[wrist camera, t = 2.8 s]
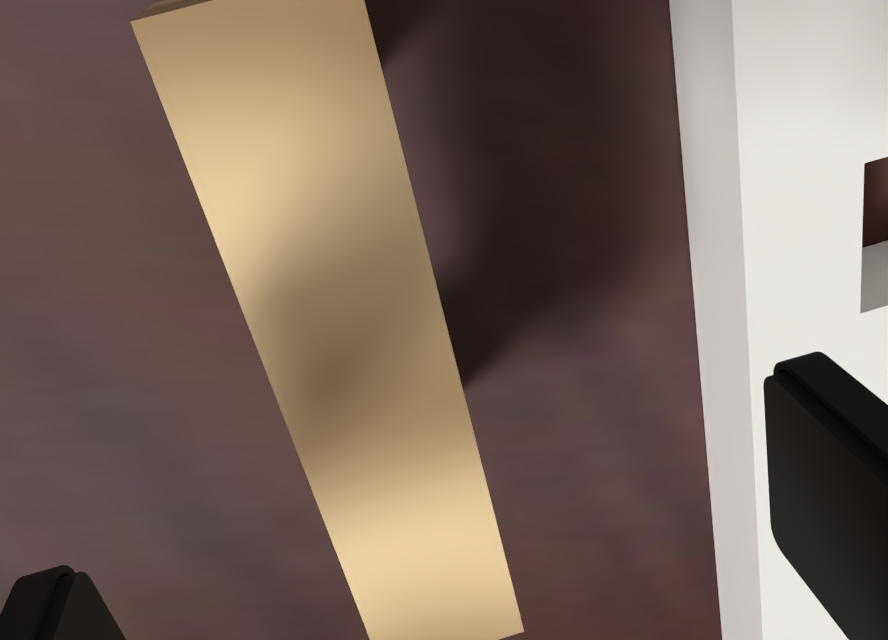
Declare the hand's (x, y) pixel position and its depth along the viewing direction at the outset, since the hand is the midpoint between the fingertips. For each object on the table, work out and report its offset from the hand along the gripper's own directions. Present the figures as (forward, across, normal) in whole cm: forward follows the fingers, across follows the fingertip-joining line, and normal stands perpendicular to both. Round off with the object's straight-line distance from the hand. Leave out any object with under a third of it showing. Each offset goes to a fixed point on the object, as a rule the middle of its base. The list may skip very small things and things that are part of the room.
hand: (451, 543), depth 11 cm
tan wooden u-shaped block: (+11, +1, -1) cm, 11 cm away
